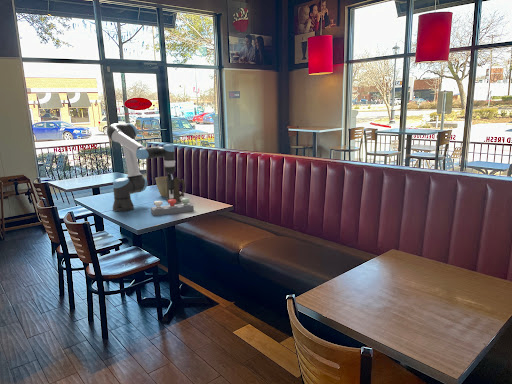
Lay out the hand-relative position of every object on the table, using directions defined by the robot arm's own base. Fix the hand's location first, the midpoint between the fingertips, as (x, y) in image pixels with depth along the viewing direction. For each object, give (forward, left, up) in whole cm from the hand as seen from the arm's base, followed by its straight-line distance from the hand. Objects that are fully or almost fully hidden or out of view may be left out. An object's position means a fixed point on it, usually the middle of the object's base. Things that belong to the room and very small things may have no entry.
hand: (171, 198), depth 272 cm
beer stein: (-30, +23, -10) cm, 39 cm away
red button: (0, 0, -5) cm, 5 cm away
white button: (-3, -9, -5) cm, 11 cm away
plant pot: (-54, +27, -10) cm, 61 cm away
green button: (+4, +10, -5) cm, 12 cm away
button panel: (0, 0, -10) cm, 10 cm away
